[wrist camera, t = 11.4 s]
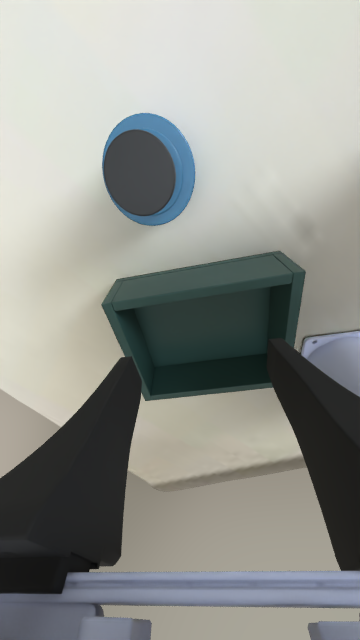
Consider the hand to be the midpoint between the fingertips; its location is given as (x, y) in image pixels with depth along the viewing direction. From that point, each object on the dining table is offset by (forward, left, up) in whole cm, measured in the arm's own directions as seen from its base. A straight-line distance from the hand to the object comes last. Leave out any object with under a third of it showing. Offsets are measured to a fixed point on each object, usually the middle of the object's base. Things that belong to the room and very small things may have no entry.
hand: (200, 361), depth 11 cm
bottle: (+1, -9, -10) cm, 13 cm away
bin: (0, +4, -10) cm, 11 cm away
